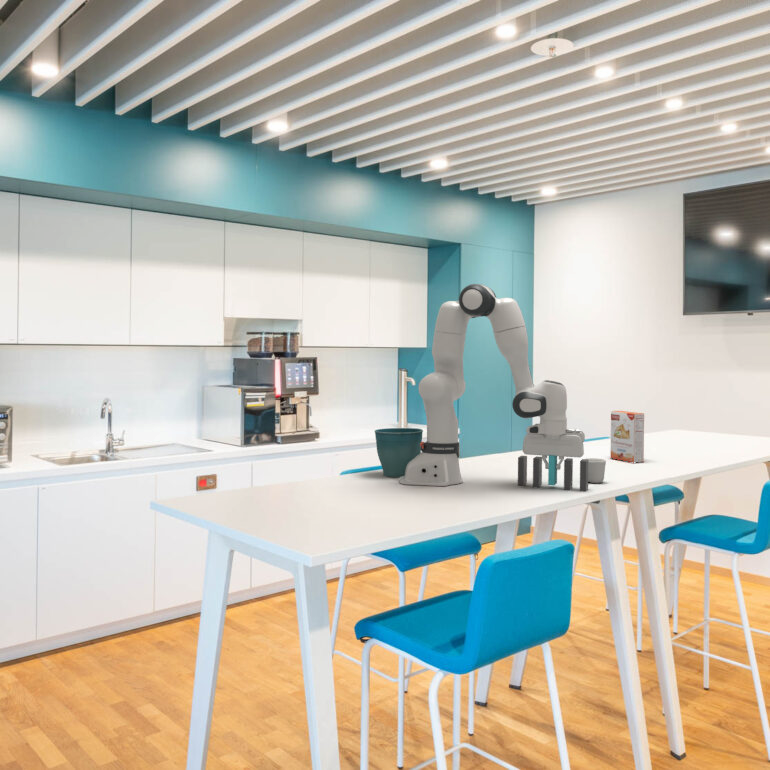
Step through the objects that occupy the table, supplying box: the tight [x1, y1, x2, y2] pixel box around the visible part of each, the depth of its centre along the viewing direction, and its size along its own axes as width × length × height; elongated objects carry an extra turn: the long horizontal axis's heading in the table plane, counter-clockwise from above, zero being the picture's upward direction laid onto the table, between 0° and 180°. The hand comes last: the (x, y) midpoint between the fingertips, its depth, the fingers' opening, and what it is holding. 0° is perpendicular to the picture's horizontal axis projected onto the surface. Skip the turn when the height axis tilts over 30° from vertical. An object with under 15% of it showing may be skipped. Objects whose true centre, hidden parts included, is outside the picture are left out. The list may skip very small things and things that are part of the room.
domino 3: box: [563, 457, 574, 491], centre depth 249 cm, size 2×5×10 cm, turn 157°
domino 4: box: [579, 458, 589, 492], centre depth 247 cm, size 2×5×10 cm, turn 157°
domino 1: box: [517, 455, 528, 487], centre depth 256 cm, size 2×5×10 cm, turn 157°
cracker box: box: [610, 410, 645, 464], centre depth 314 cm, size 14×6×21 cm, turn 25°
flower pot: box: [374, 427, 424, 478], centre depth 276 cm, size 18×18×17 cm
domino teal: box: [547, 455, 558, 486], centre depth 251 cm, size 2×5×10 cm, turn 157°
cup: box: [586, 457, 607, 484], centre depth 263 cm, size 11×8×8 cm
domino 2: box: [532, 455, 543, 489], centre depth 254 cm, size 2×5×10 cm, turn 157°
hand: (552, 469), depth 251 cm, fingers closed on domino teal, 2 cm apart
